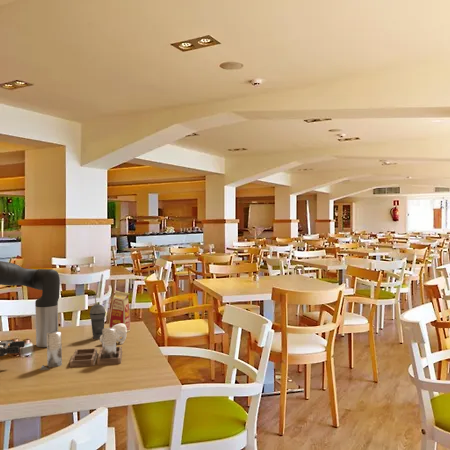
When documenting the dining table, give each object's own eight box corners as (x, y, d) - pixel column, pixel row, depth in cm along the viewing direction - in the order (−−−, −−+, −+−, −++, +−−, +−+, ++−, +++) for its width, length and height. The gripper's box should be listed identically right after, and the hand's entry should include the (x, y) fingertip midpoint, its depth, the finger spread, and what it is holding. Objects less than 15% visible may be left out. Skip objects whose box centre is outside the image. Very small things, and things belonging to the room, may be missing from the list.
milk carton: (108, 333, 235) (107, 291, 235) (115, 328, 244) (115, 289, 244) (126, 333, 233) (125, 291, 233) (133, 329, 242) (132, 289, 242)
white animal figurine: (126, 324, 211) (98, 329, 208) (129, 343, 212) (100, 348, 208) (125, 321, 217) (97, 326, 214) (127, 340, 218) (100, 345, 214)
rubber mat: (44, 365, 181) (44, 363, 181) (69, 363, 183) (69, 361, 183) (39, 372, 172) (39, 370, 172) (65, 370, 174) (65, 368, 174)
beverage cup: (102, 340, 220) (101, 296, 220) (87, 339, 221) (86, 295, 221) (108, 336, 227) (108, 293, 227) (94, 336, 228) (93, 293, 228)
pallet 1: (75, 357, 192) (75, 349, 192) (97, 355, 193) (97, 348, 193) (69, 369, 174) (69, 361, 174) (94, 368, 176) (93, 359, 176)
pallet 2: (100, 355, 193) (100, 347, 193) (122, 353, 195) (122, 346, 195) (96, 368, 176) (96, 359, 176) (121, 366, 178) (120, 358, 178)
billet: (100, 361, 181) (99, 329, 181) (112, 358, 185) (111, 327, 185) (106, 363, 178) (105, 331, 178) (118, 361, 181) (118, 329, 181)
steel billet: (45, 365, 178) (44, 332, 178) (58, 362, 181) (58, 330, 181) (50, 368, 174) (49, 335, 174) (64, 365, 177) (63, 332, 177)
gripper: (-34, 343, 166) (16, 340, 168) (-21, 334, 180) (26, 332, 182) (-34, 365, 165) (17, 362, 168) (-20, 355, 179) (26, 352, 182)
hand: (21, 346), depth 175 cm, fingers open, 8 cm apart
